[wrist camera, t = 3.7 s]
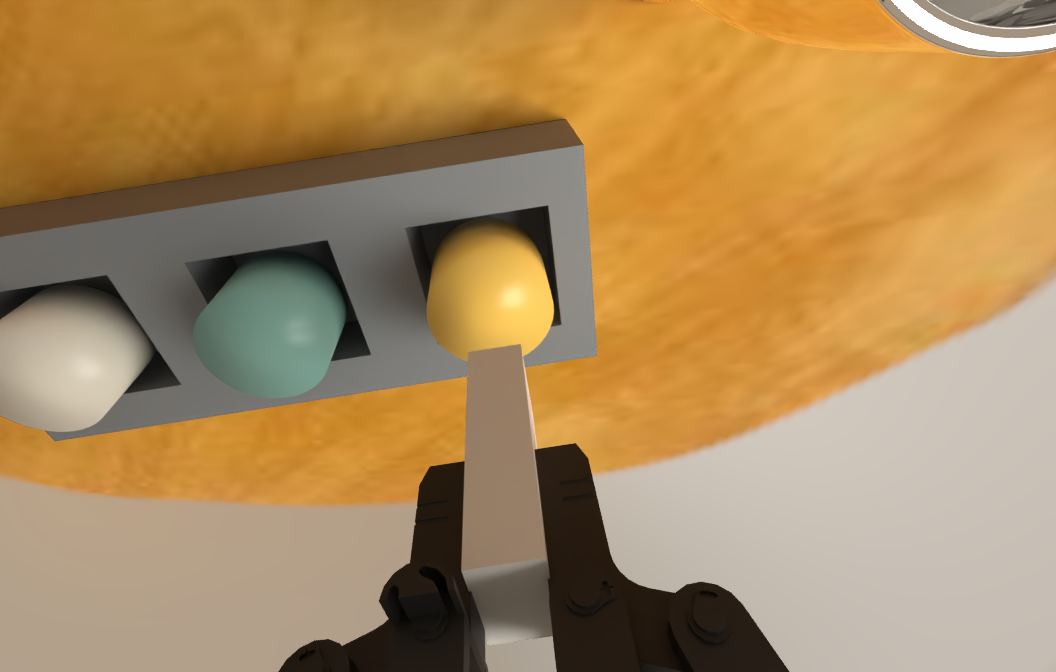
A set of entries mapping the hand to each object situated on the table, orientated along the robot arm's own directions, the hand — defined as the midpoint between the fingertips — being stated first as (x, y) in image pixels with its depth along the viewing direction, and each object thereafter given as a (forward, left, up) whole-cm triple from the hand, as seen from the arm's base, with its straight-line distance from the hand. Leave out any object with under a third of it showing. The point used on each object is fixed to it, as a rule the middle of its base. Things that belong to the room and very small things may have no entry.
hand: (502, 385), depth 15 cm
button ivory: (-16, 0, -7) cm, 18 cm away
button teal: (-8, 0, -7) cm, 11 cm away
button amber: (0, 0, -7) cm, 7 cm away
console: (-8, 0, -10) cm, 13 cm away
